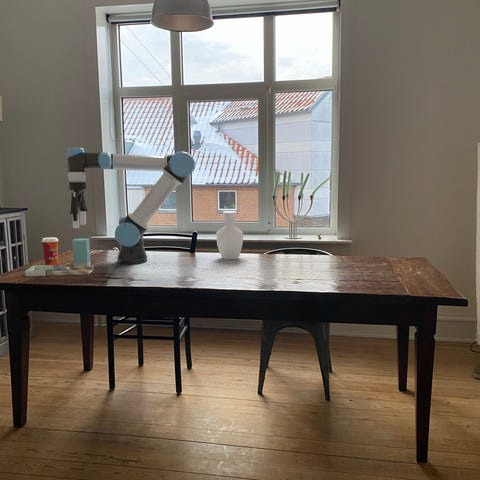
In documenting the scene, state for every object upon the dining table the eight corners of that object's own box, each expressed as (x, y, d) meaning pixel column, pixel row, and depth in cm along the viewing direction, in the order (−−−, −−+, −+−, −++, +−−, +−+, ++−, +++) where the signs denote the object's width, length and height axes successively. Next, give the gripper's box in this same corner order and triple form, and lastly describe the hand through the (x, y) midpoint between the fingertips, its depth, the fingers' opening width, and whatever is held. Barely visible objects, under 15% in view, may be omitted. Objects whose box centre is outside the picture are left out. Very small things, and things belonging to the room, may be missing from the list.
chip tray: (53, 271, 210) (53, 265, 209) (45, 277, 198) (44, 270, 197) (34, 271, 209) (34, 265, 208) (25, 277, 197) (24, 271, 197)
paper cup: (54, 268, 217) (52, 239, 215) (39, 267, 218) (37, 239, 216) (63, 265, 225) (61, 237, 222) (49, 264, 226) (47, 236, 224)
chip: (64, 270, 208) (64, 265, 208) (62, 272, 204) (61, 266, 204) (55, 270, 208) (55, 265, 207) (52, 272, 204) (52, 267, 203)
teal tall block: (90, 266, 221) (89, 238, 218) (87, 269, 215) (86, 240, 213) (76, 266, 220) (75, 238, 218) (73, 269, 214) (72, 240, 212)
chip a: (71, 272, 205) (70, 266, 204) (68, 274, 201) (68, 268, 200) (62, 272, 204) (61, 267, 204) (59, 274, 200) (59, 268, 200)
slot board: (94, 270, 211) (93, 265, 211) (88, 276, 200) (88, 270, 200) (54, 271, 209) (54, 266, 209) (46, 277, 198) (46, 271, 198)
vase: (248, 257, 244) (248, 211, 240) (233, 261, 232) (233, 213, 228) (226, 254, 251) (226, 210, 247) (211, 259, 239) (210, 212, 236)
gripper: (75, 180, 223) (78, 223, 226) (61, 181, 198) (64, 229, 202) (91, 180, 224) (93, 223, 227) (78, 181, 199) (81, 229, 202)
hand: (79, 226), depth 214 cm, fingers open, 13 cm apart
